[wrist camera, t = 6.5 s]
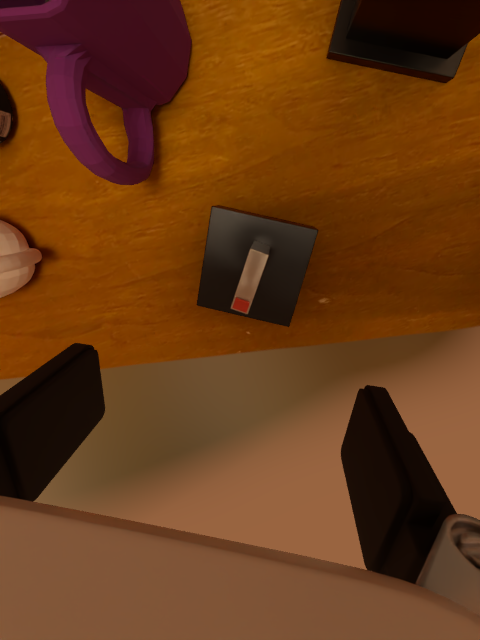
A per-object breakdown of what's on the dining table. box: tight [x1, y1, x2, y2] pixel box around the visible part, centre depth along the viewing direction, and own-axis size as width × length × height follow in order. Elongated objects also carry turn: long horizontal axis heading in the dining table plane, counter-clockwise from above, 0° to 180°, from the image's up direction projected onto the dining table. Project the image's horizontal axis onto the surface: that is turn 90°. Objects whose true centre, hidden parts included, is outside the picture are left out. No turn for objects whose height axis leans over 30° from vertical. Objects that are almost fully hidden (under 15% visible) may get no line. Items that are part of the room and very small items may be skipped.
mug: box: [0, 0, 191, 185], centre depth 20 cm, size 9×16×15 cm, turn 1°
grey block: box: [231, 241, 270, 314], centre depth 27 cm, size 6×2×5 cm, turn 162°
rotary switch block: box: [197, 205, 318, 327], centre depth 30 cm, size 10×10×3 cm
